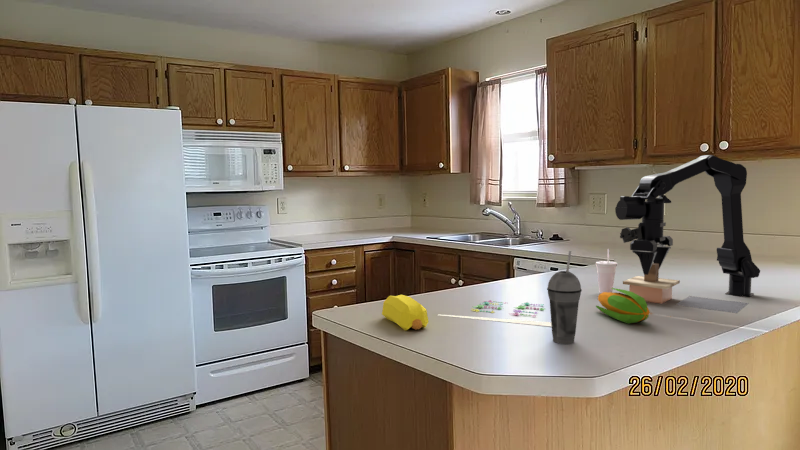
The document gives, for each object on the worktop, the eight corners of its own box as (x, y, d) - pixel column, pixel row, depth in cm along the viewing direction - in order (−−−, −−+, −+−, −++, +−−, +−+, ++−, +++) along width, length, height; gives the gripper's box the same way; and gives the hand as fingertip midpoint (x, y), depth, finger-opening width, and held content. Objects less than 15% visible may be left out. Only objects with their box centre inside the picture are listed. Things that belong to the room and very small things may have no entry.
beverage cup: (541, 336, 122) (542, 249, 120) (572, 335, 122) (574, 248, 121) (553, 346, 115) (554, 253, 113) (586, 345, 115) (588, 252, 114)
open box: (639, 295, 164) (640, 279, 163) (671, 300, 158) (672, 283, 157) (629, 300, 157) (629, 284, 157) (661, 305, 151) (662, 287, 151)
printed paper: (437, 316, 143) (437, 310, 143) (471, 296, 170) (471, 291, 170) (552, 328, 130) (552, 322, 130) (570, 304, 157) (570, 299, 157)
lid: (637, 278, 165) (637, 259, 165) (679, 283, 157) (680, 263, 157) (622, 284, 157) (623, 264, 156) (666, 289, 149) (667, 268, 148)
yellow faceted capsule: (404, 335, 125) (433, 331, 128) (403, 306, 125) (433, 303, 128) (378, 317, 142) (404, 314, 145) (377, 292, 142) (404, 289, 144)
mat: (689, 297, 161) (689, 295, 161) (748, 304, 151) (748, 303, 151) (674, 306, 150) (674, 304, 150) (736, 314, 140) (736, 313, 140)
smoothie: (618, 295, 165) (619, 250, 163) (596, 294, 166) (597, 249, 165) (614, 291, 171) (615, 247, 170) (593, 290, 172) (594, 247, 171)
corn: (631, 296, 127) (586, 281, 147) (628, 328, 128) (584, 309, 148) (659, 297, 129) (611, 282, 148) (656, 328, 129) (609, 309, 149)
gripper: (635, 216, 168) (634, 265, 169) (612, 219, 154) (611, 273, 155) (674, 217, 160) (672, 269, 161) (653, 221, 147) (651, 278, 148)
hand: (651, 272), depth 157 cm, fingers open, 9 cm apart
